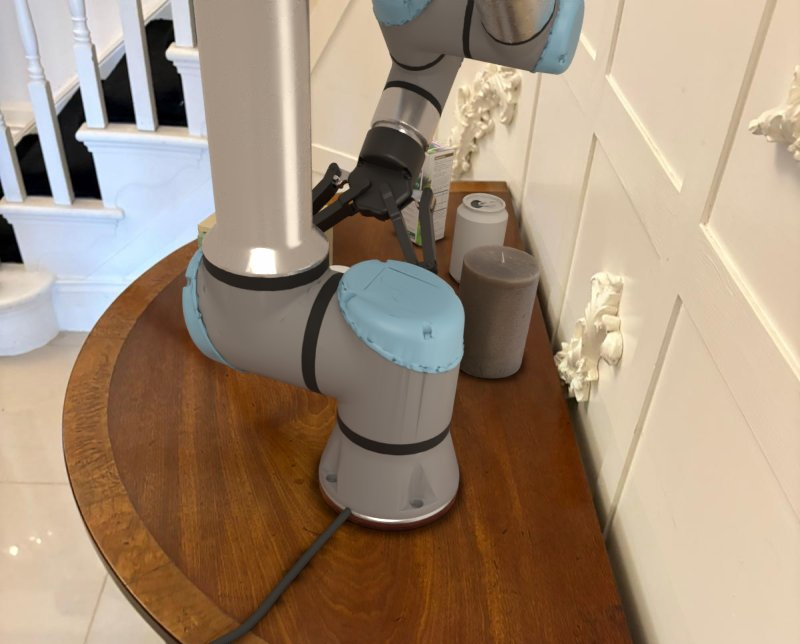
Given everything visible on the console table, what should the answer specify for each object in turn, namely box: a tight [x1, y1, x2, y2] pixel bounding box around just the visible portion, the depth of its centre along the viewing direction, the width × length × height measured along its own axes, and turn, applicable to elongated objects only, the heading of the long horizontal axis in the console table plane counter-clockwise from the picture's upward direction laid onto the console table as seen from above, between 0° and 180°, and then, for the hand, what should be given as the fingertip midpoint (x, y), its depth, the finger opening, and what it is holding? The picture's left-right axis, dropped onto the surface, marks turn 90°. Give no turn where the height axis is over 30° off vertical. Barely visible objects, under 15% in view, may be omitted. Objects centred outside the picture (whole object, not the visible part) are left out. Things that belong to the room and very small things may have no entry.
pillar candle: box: [457, 245, 543, 379], centre depth 100 cm, size 10×10×15 cm
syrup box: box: [401, 138, 456, 247], centre depth 125 cm, size 6×6×14 cm
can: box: [449, 192, 509, 284], centre depth 117 cm, size 8×8×12 cm
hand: (336, 309), depth 95 cm, fingers open, 13 cm apart
